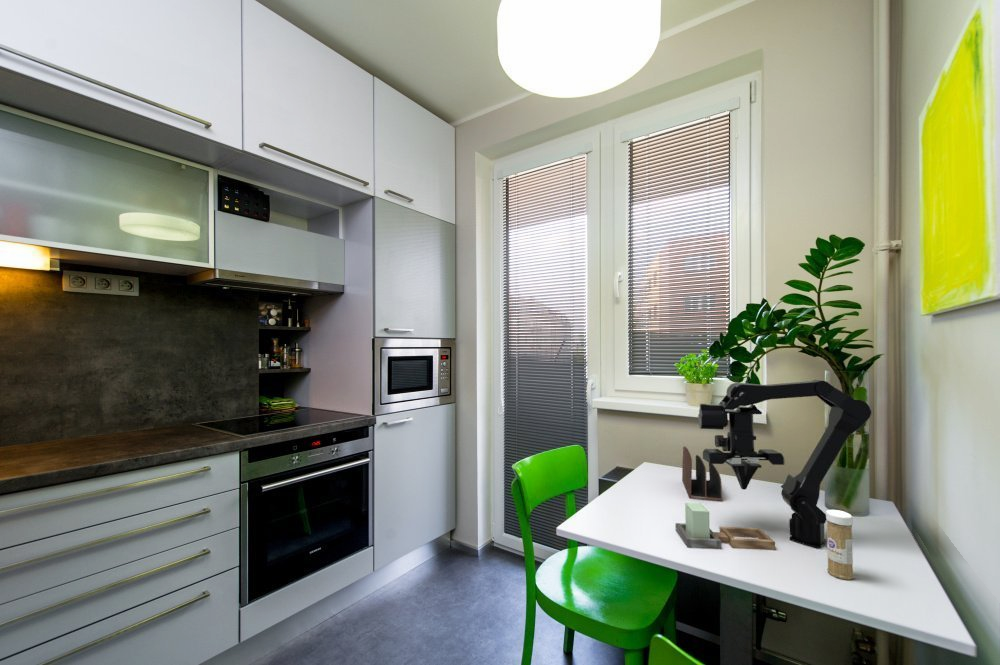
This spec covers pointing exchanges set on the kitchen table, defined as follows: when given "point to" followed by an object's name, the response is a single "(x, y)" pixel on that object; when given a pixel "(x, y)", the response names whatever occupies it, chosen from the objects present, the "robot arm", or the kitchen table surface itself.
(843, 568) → the sprinkles bottle
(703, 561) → the kitchen table surface
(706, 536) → the sage peg
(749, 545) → the joined double square frame
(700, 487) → the letter holder
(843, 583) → the kitchen table surface
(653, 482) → the kitchen table surface
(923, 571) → the kitchen table surface
